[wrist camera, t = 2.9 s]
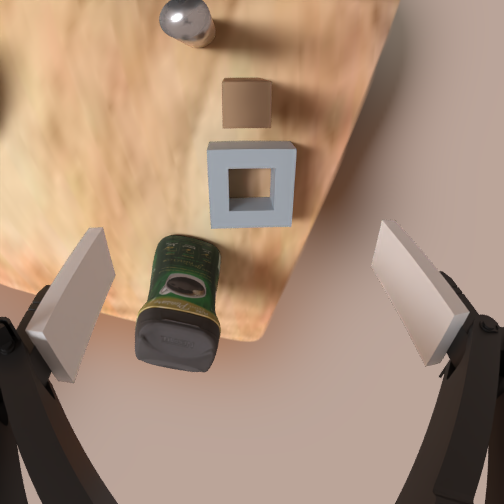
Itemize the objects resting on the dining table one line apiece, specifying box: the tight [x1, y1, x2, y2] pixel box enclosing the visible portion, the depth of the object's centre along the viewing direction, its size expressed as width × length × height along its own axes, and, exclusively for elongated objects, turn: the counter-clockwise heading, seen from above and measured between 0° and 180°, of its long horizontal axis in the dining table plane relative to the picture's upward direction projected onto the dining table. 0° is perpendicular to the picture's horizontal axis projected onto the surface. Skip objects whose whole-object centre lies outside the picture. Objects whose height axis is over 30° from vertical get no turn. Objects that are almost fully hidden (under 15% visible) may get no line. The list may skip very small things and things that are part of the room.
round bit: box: [159, 0, 216, 48], centre depth 24 cm, size 4×4×12 cm
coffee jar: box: [135, 235, 221, 372], centre depth 38 cm, size 10×8×19 cm
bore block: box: [207, 141, 297, 229], centre depth 38 cm, size 10×10×4 cm
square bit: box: [222, 78, 272, 128], centre depth 29 cm, size 4×4×12 cm
